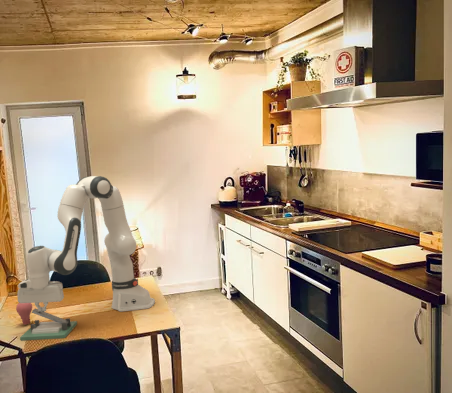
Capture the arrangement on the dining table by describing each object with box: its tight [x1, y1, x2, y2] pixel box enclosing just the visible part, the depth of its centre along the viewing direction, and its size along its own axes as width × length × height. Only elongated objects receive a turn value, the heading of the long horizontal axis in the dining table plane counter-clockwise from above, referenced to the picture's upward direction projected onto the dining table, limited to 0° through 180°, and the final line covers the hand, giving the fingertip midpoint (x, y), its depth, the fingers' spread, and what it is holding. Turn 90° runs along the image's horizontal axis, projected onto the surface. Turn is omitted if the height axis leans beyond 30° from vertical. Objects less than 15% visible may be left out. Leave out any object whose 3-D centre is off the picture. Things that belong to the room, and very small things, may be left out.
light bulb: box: [15, 302, 33, 326], centre depth 222 cm, size 7×7×12 cm
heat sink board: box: [19, 317, 78, 341], centre depth 211 cm, size 20×16×5 cm
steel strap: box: [31, 307, 69, 324], centre depth 211 cm, size 17×3×2 cm, turn 89°
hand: (42, 311), depth 210 cm, fingers closed
